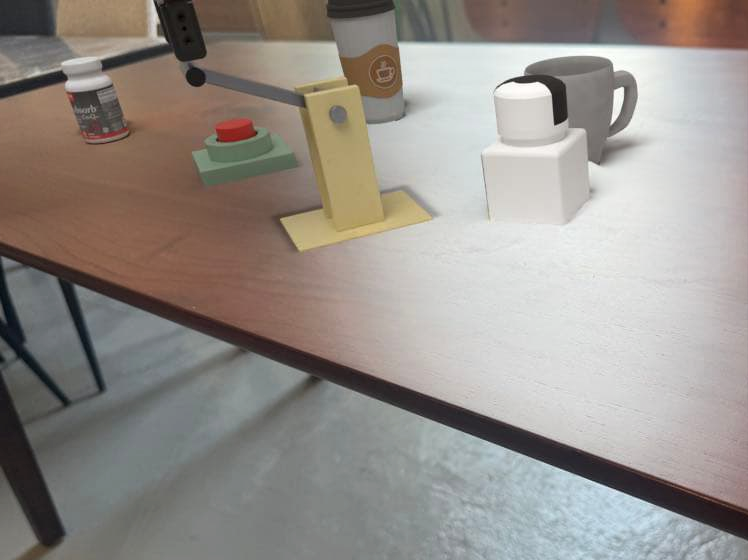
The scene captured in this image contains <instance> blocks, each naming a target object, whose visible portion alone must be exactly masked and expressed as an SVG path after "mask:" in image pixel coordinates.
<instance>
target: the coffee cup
mask: <svg viewBox="0 0 748 560" xmlns="http://www.w3.org/2000/svg"><path fill="white" fill-rule="evenodd" d="M325 8H326V17H327V18H328V19H329V22H330V26H331V30H332V33H333V37H334V41H335V45H336V49H337V52H338V59H339V63H340V66H341V69H342V74H343V76H344V77H346V78H347V82H348V86H350V85H357V86H358V87H359V90H360V95H361V101H362V106H363V111H364V116H365V121H366V125H379V124H385V123H390V122H394V121H398V120H400V119H402V118H403V117H404V112H405V110H406V108H405V107H406V106H405V99H404V97H405V96H404V90H403V89H404V88H403V85H404V83H403V81H404V80H403V73H402V62H401V54H400V47H399V42H398V33H397V23H396V15H395V9H396V5H395V3H394V0H327V4H325Z"/></svg>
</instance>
